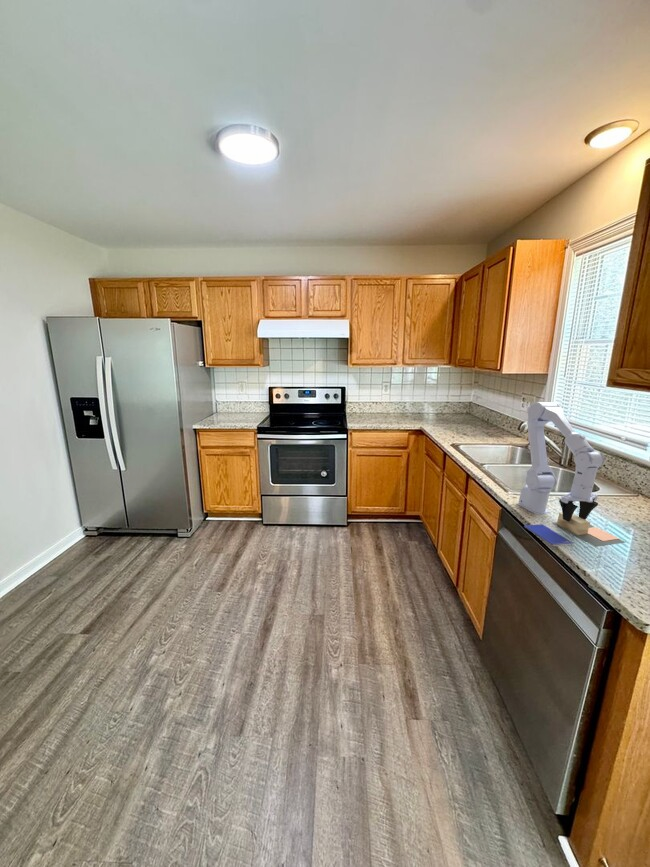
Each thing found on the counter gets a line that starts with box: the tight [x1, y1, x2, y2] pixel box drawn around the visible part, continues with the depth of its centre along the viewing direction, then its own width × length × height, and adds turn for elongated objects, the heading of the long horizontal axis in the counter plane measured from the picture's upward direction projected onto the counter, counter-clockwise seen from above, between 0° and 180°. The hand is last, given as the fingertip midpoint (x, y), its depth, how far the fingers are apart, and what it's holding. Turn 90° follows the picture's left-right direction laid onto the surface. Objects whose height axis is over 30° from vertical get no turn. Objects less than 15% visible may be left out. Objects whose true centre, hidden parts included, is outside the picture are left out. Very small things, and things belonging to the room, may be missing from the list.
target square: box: [587, 526, 620, 541], centre depth 117 cm, size 8×8×1 cm
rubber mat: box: [552, 521, 626, 547], centre depth 118 cm, size 16×14×1 cm
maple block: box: [556, 512, 591, 535], centre depth 120 cm, size 8×4×4 cm, turn 15°
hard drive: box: [523, 524, 575, 547], centre depth 115 cm, size 2×8×12 cm
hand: (574, 519), depth 119 cm, fingers open, 7 cm apart
